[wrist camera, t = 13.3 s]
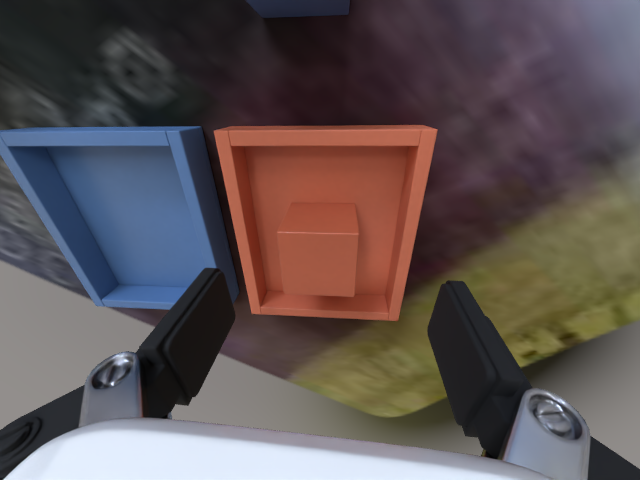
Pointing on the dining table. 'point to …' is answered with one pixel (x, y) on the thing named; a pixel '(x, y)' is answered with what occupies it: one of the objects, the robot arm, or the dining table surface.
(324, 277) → the terracotta block
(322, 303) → the terracotta tray
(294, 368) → the dining table surface
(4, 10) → the dining table surface
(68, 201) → the slate-blue tray
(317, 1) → the slate-blue block
